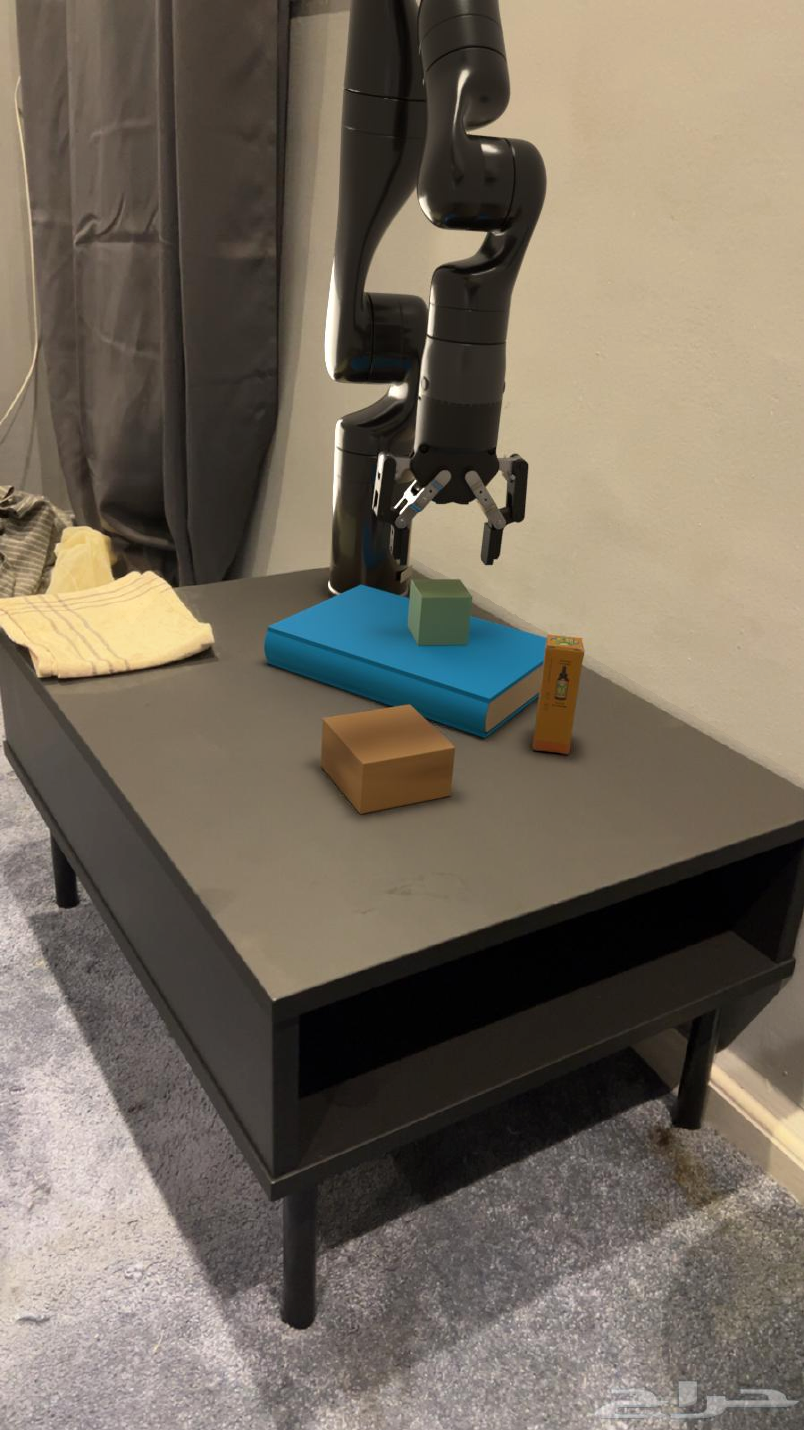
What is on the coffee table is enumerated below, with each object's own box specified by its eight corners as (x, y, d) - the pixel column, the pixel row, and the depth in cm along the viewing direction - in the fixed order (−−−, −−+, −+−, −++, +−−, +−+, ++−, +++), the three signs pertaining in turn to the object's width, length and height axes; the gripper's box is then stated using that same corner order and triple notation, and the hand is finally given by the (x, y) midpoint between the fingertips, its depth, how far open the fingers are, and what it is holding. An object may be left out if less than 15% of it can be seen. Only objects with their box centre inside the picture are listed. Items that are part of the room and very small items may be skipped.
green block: (407, 626, 106) (411, 579, 104) (455, 625, 107) (460, 578, 105) (417, 645, 101) (421, 597, 99) (467, 645, 102) (472, 596, 100)
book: (359, 584, 116) (568, 639, 105) (357, 620, 118) (562, 678, 107) (262, 628, 103) (489, 697, 91) (262, 668, 104) (485, 741, 93)
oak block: (320, 765, 87) (322, 717, 85) (406, 750, 91) (410, 703, 89) (360, 814, 81) (363, 763, 79) (450, 796, 84) (455, 747, 82)
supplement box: (569, 738, 95) (586, 636, 90) (568, 756, 92) (585, 651, 87) (532, 733, 95) (547, 631, 91) (530, 751, 92) (545, 646, 88)
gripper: (524, 384, 98) (503, 549, 106) (374, 379, 95) (364, 549, 103) (550, 402, 92) (525, 577, 100) (390, 397, 89) (378, 577, 97)
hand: (443, 562), depth 101 cm, fingers open, 8 cm apart
